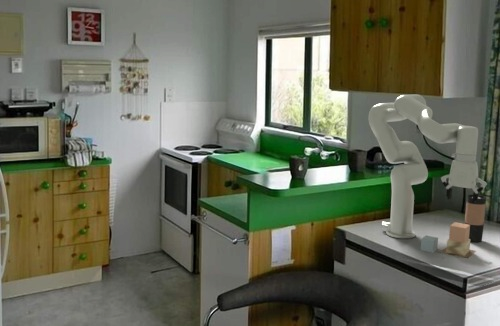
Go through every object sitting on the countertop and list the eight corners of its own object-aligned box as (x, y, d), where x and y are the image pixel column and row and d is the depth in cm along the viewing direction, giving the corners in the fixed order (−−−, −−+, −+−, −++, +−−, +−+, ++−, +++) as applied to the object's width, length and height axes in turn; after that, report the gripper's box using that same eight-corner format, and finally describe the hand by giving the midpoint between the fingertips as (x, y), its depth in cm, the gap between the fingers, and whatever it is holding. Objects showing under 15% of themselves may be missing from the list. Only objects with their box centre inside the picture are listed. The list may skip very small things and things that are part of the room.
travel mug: (472, 246, 240) (476, 199, 236) (459, 240, 247) (462, 195, 243) (486, 243, 243) (490, 197, 239) (472, 238, 250) (476, 193, 246)
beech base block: (446, 252, 229) (447, 240, 228) (451, 247, 235) (452, 235, 234) (464, 255, 225) (465, 243, 224) (469, 251, 231) (470, 239, 230)
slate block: (420, 252, 231) (421, 238, 230) (424, 249, 235) (425, 235, 234) (432, 255, 229) (433, 240, 227) (437, 252, 232) (438, 237, 231)
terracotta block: (448, 240, 228) (450, 225, 227) (453, 236, 233) (454, 222, 232) (464, 243, 225) (465, 228, 224) (468, 239, 230) (470, 224, 228)
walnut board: (439, 254, 229) (439, 252, 229) (448, 247, 238) (448, 245, 237) (467, 260, 223) (467, 258, 222) (475, 253, 231) (475, 250, 231)
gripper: (440, 156, 225) (436, 199, 228) (486, 162, 215) (482, 206, 218) (445, 154, 231) (442, 195, 234) (491, 159, 221) (487, 202, 224)
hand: (461, 200), depth 226 cm, fingers open, 9 cm apart
